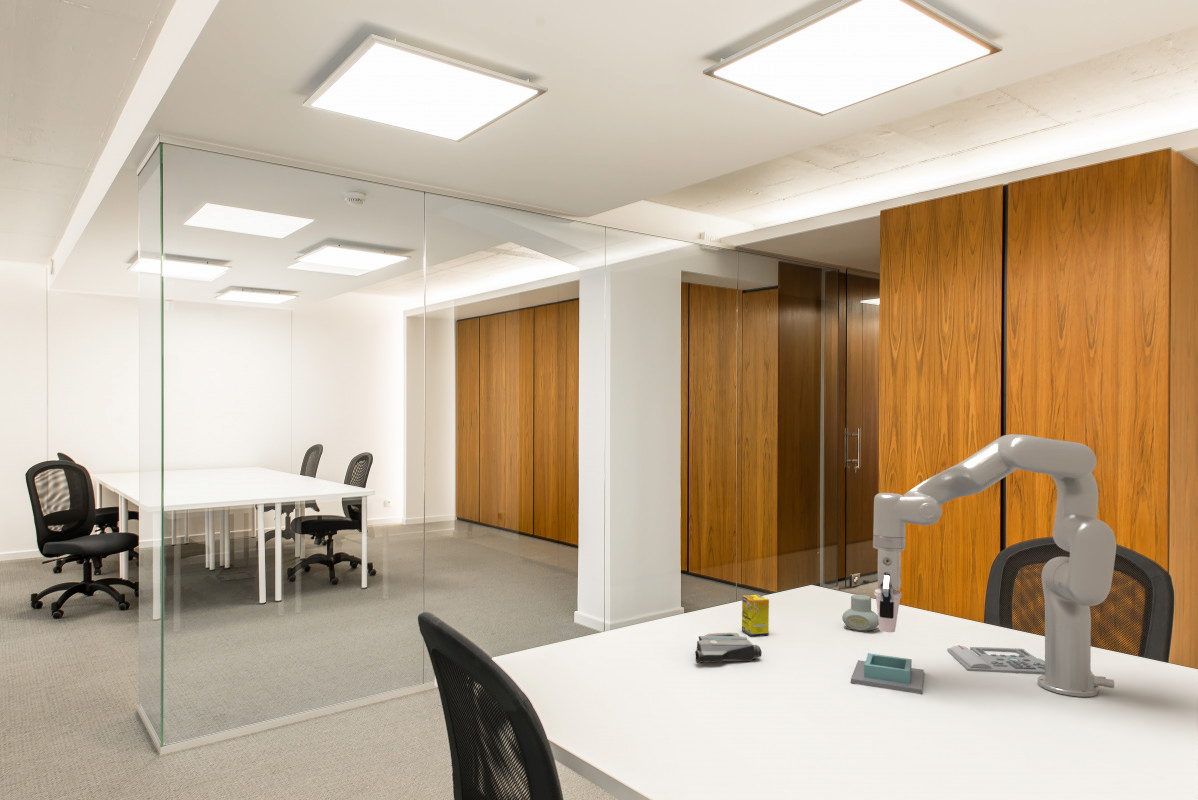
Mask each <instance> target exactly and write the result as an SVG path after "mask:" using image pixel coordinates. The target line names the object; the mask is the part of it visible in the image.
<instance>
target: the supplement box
mask: <svg viewBox="0 0 1198 800" xmlns="http://www.w3.org/2000/svg"><path fill="white" fill-rule="evenodd" d="M741 597H742V599H741V600H742V601H741V616H742V617H741V632H742V633H744V634H746V635H748V636H749V637H750V638H755V637H767V636H769V620H770V618H769V616H770V615H769V613H770V611H769V610H770V609H769V607H770V599H768V598H765V597H764V596H762V595H761V594H751V595H750V594H749V595H748V594H747V595H746V594H745V595H741Z"/></svg>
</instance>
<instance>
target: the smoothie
mask: <svg viewBox="0 0 1198 800" xmlns="http://www.w3.org/2000/svg"><path fill="white" fill-rule="evenodd" d="M889 589H891V587H889ZM889 593H890V594H891V592H889ZM874 595H875V601H876V608H877V609H876V610H877V615H878V621H879V625H878V627H879V628H878V629H879V631H881V632H884V633H895V632H896V627H897V620H898V615H899V614H898V613H899V607H900V601H901V598H902V592H901V591H900V590H899V591H896V589H895V590H893V602H894V617H893V619H890V618H882V617H880V601H881V589H879V588H875V590H874Z"/></svg>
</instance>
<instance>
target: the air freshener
mask: <svg viewBox="0 0 1198 800" xmlns="http://www.w3.org/2000/svg"><path fill="white" fill-rule="evenodd" d="M841 617H842V618H841V619H842V621H843V624H845V626H846V627H848V628H850V629H852V630H853V631H855V632H860V633H861V632H862V633H863V632H869V631H872V630H875V629H877V628H878V627H879V621H878V613H876V612H874V611H873V610H872V598H871V597H870V596H869V595H865V594H853V595H851V596H850V608H848V609H847V610H845V611H844V613H843V614H842V615H841Z"/></svg>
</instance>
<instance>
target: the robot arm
mask: <svg viewBox="0 0 1198 800" xmlns="http://www.w3.org/2000/svg"><path fill="white" fill-rule="evenodd" d="M1096 466H1097V456H1096V455H1095V452H1094V451H1093V450H1092V449H1091V447H1089V446H1087V444H1083V443H1081V442H1074V441H1067V440H1060V439H1053V438H1046V437H1038V436H1034V435H1028V434H1015V433H1012V434H1011V433H1010V434H1005V435H1001V436H999V437H998V438H997V439H994V440H993V441H992V442H990V443H989V444H987V445H986V446H984V447H983V448H981V449H980V450H978V451H976V452H975V453H973V454H972V455H970V456H969V457H967V458H966V459H964V460H962V461H960V462H959V463H957V464H955V465H953V466H951V467H949V468H947V469H945V470H943V471H941V472H939V473H937V474H934V475H933V476H930V477H929V478H927V479H925V480H923V481H922V482H920V483H919V484H917V485H916V486H914V487H913V488H912V489H910V490H908V491H907V492H906V493H904V494H899V493H895V492H893V493H892V492H879V493H877V494H876V495H874V499H873V530H872V531H873V536H872V537H873V538H872V548H873V549H875V550H877V587H878V588H877V589H881V601H880V617H882V618H890V619H893V617H894V602H893V590H896V591H899V592H900V588H901V585H902V553H901V552H903V551H906V523H907V524H913V525H919V526H931V525H934V524H935V523H937V522H938V521H940V519H941V517H942V514H943V508H942V506H943V505H944V504H946V503H947V502H950V501H952V500H955V499H958V498H961V497H967V496H972V495H977V494H979V493H982V492H984V491H985V490H987V489H988V488H990V487H991V486H993V485H995V484H997V482H999V481H1001V480H1003V479H1004V478H1006V477H1007V476H1008V475H1010V474H1013V473H1014V472H1016V470H1020V471H1027V472H1032V473H1036V474H1043V475H1049V476H1050V477H1051V478H1052V479H1053V481H1054V483H1055V486H1056V492H1057V494H1056V495H1057V499H1056V500H1057V501H1056V506H1055V515H1054V522H1053V529H1052V538H1053V541H1054V543H1055V544H1056V546H1057V547H1058V548H1060V549H1062V550H1063V551H1065V552H1068V553H1069V556H1056V557H1053V558H1051V559H1049V560H1048V561H1047V562H1046V563H1045V564H1044V566H1043V568H1042V571H1041V585H1042V591H1043V598H1044V661H1045V675H1043V674H1041V675H1039V676H1038V677H1037V685H1039V686H1040V687H1041V688H1043V689H1045V690H1047V691H1050V692H1052V693H1057V694H1060V695H1065V696H1072V697H1081V698H1084V697H1085V698H1086V697H1087V698H1088V697H1095V696H1097V695H1098V694H1099V687H1104V688H1108V689H1115V681H1114V679H1111V678H1110V679H1109V678H1106V676H1100V675H1099V676H1098V675H1095V674H1093V672H1092V670H1091V658H1092V657H1091V656H1092V655H1091V653H1092V651H1091V645H1092V642H1091V641H1092V640H1091V638H1092V637H1091V636H1092V634H1091V633H1092V632H1091V631H1092V618H1091V617H1092V616H1091V608H1090V607H1095V606H1098V605H1100V604H1101V603H1103V602H1104V601H1105V600H1106V599H1107V597H1108V595H1109V594H1110V591H1111V589H1112V588H1111V587H1112V583H1113V575H1114V568H1115V560H1116V553H1117V539H1116V536H1115V534H1114V533H1115V532H1114V531H1113V529H1112V528H1111V526H1109V524H1108V523H1105V521H1103V520H1101V519H1098V509H1099V507H1098V506H1099V488H1098V484H1097V480H1096V478H1095V476H1094V474H1093V471H1095V468H1096ZM889 587H891V589H889ZM889 592H891V594H890V593H889Z"/></svg>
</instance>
